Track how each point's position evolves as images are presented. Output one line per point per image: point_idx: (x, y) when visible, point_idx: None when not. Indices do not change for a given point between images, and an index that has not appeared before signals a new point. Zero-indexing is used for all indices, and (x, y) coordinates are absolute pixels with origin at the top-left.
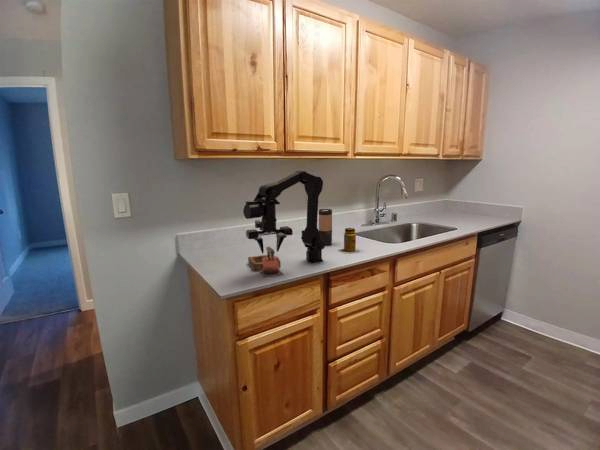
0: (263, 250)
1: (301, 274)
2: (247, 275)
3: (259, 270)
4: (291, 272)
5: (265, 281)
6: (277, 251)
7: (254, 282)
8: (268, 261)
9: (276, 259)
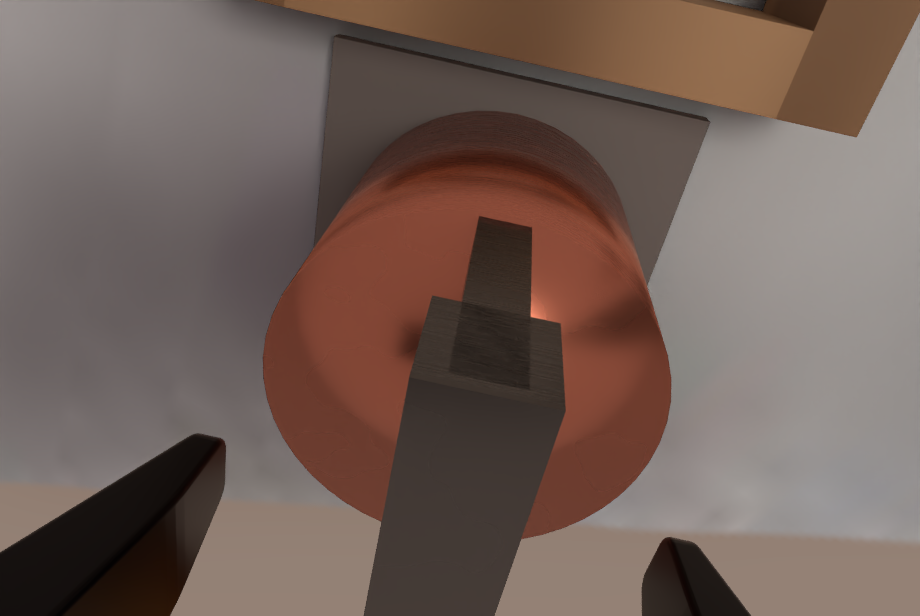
0: (170, 604)
1: (789, 528)
2: (100, 122)
3: (340, 61)
4: (748, 407)
5: (280, 455)
6: (642, 595)
7: (148, 409)
8: (345, 491)
9: (530, 522)
